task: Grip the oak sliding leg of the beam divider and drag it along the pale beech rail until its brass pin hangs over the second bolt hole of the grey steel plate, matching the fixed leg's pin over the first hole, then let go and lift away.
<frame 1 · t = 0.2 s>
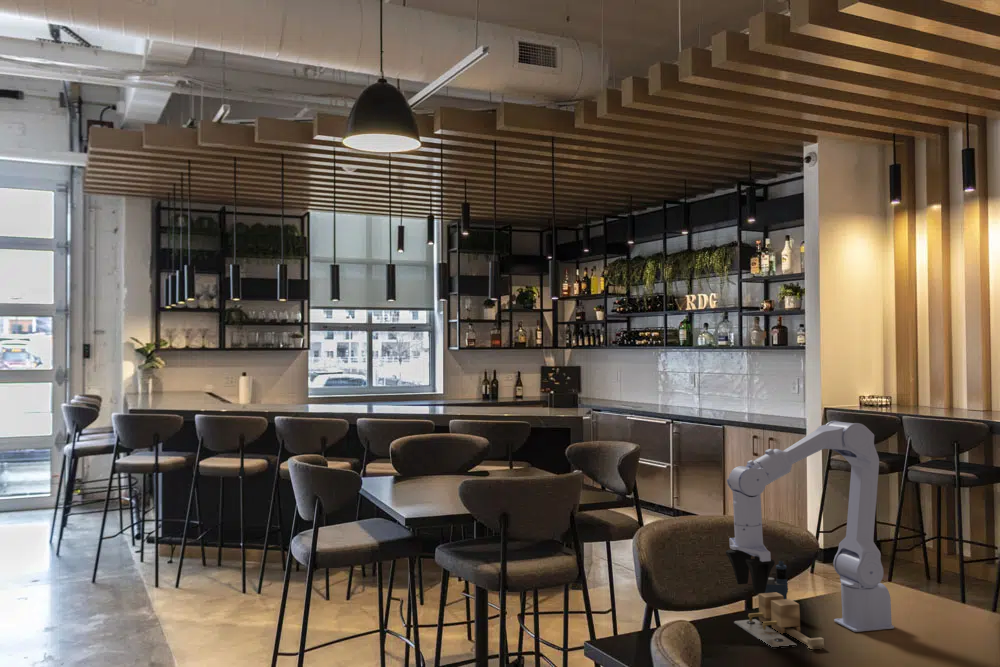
hand: (750, 588, 175), 10 cm above the table, tool pointing down, fingers open, 7 cm apart
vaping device: (777, 615, 189), on the table
fixed leg: (771, 622, 183), on the table
rail: (788, 632, 176), on the table
bolt plate: (763, 633, 176), on the table
slider leg: (778, 616, 177), point 3 cm above the table, slide at 0.0 cm
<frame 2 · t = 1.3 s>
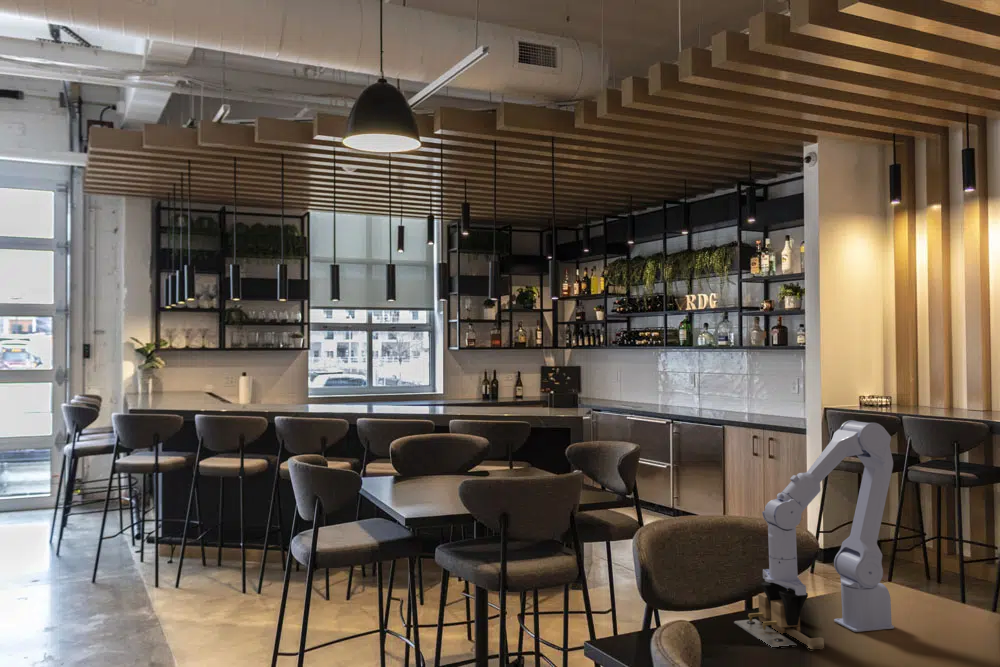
hand: (784, 620, 177), 2 cm above the table, tool pointing down, fingers open, 5 cm apart
nothing on the table moved.
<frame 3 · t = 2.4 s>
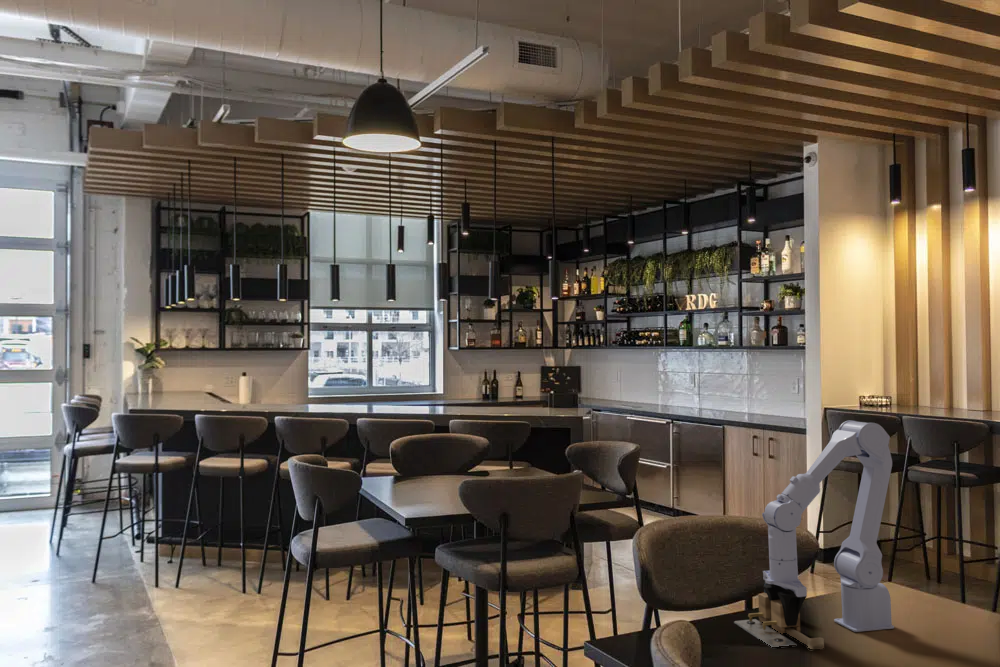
hand: (785, 622, 177), 2 cm above the table, tool pointing down, fingers closed on slider leg, 4 cm apart
slider leg: (778, 616, 177), point 3 cm above the table, slide at 0.0 cm, touching gripper
everything else where it was.
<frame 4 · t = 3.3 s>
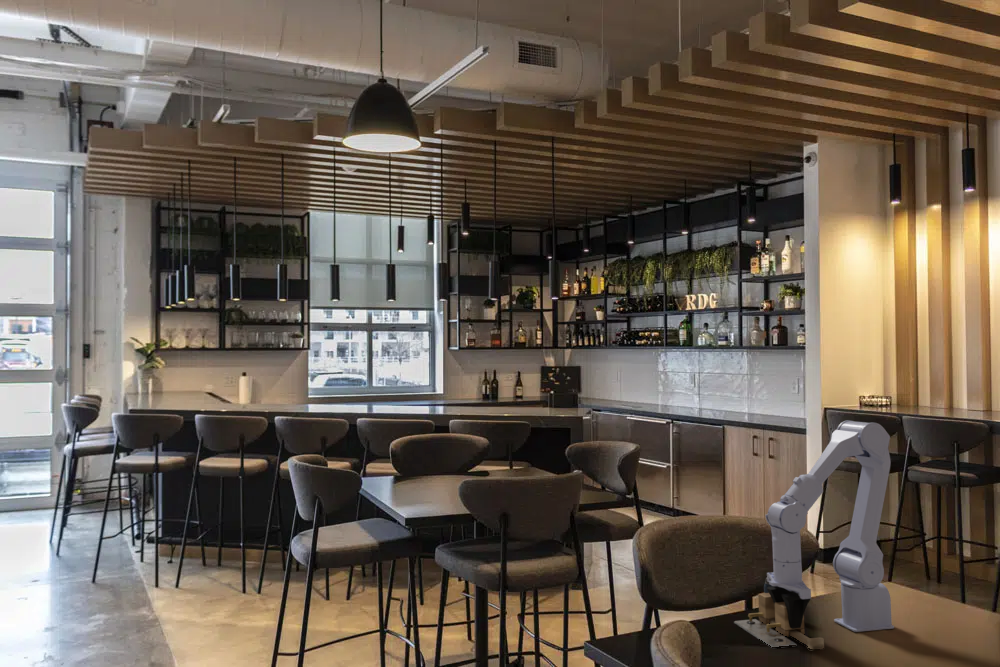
hand: (789, 624, 176), 2 cm above the table, tool pointing down, fingers closed on slider leg, 4 cm apart
slider leg: (782, 619, 175), point 3 cm above the table, slide at 1.7 cm, touching gripper
everything else where it was.
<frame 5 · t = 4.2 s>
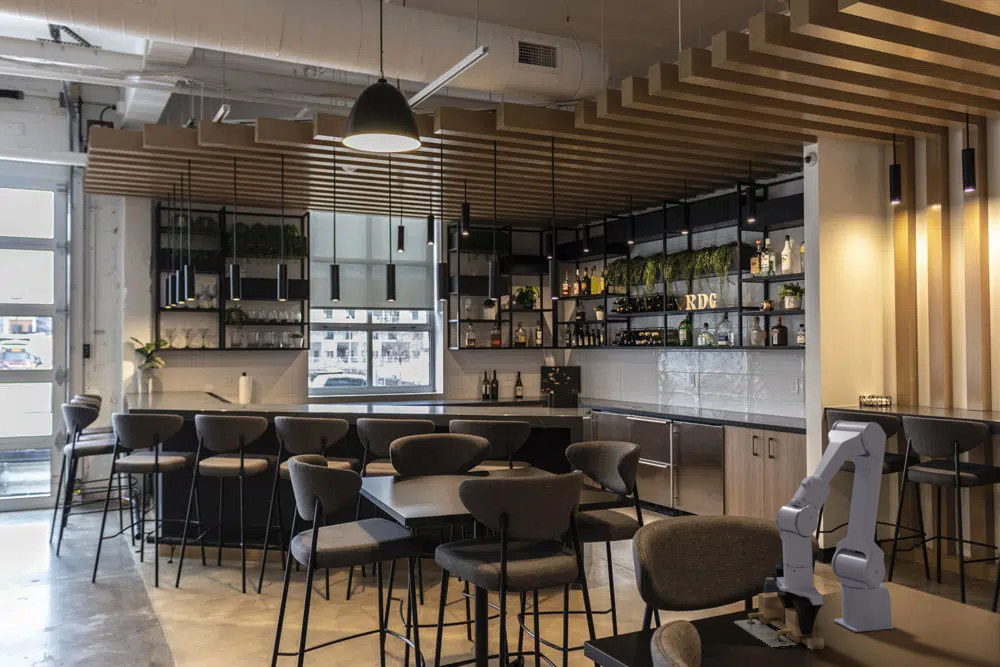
hand: (800, 630, 171), 2 cm above the table, tool pointing down, fingers closed on slider leg, 4 cm apart
slider leg: (793, 625, 171), point 3 cm above the table, slide at 5.9 cm, touching gripper
everything else where it was.
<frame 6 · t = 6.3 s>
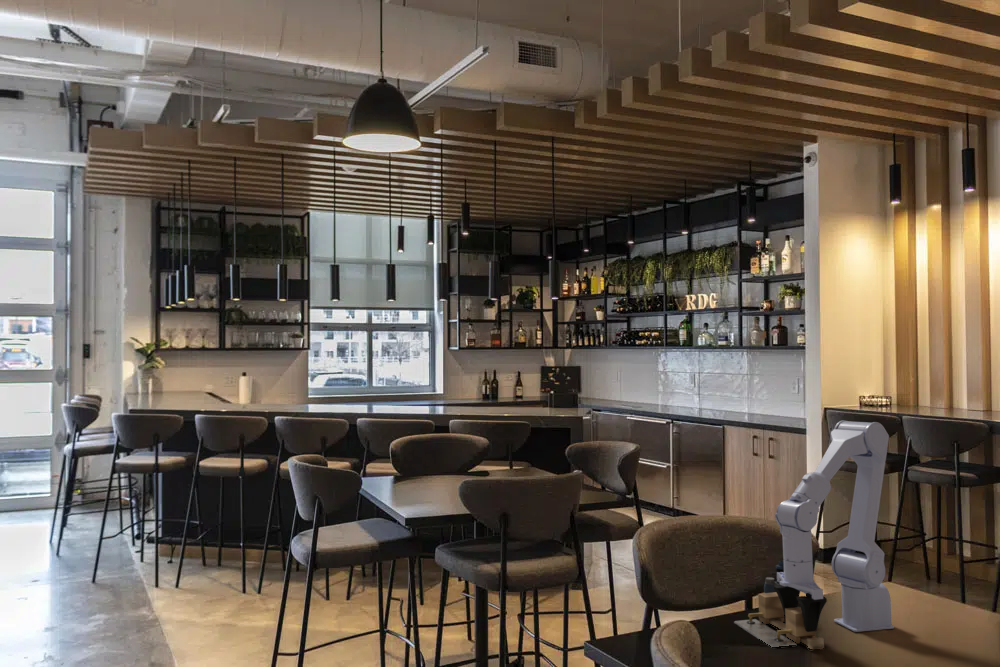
hand: (800, 625, 171), 3 cm above the table, tool pointing down, fingers open, 7 cm apart
slider leg: (793, 625, 171), point 3 cm above the table, slide at 6.0 cm
everything else where it was.
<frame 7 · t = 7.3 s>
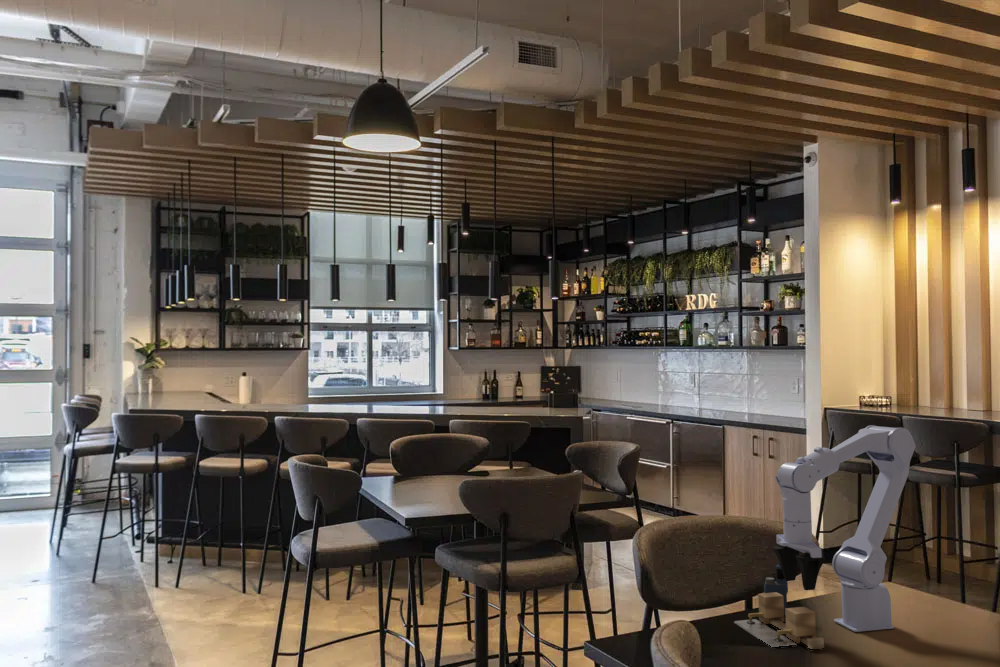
hand: (799, 584, 175), 10 cm above the table, tool pointing down, fingers open, 7 cm apart
nothing on the table moved.
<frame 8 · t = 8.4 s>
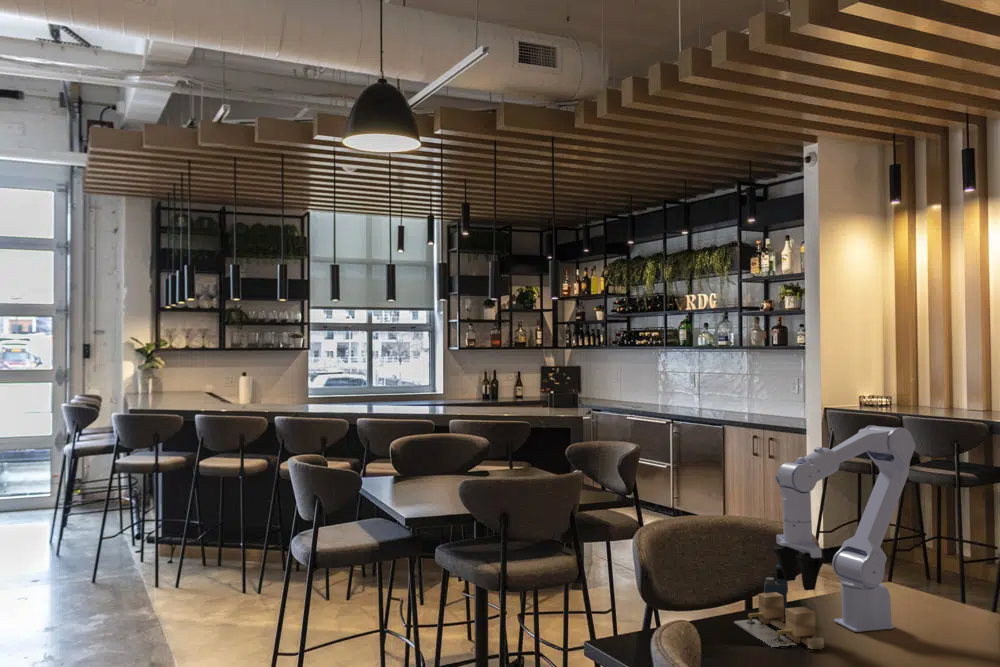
hand: (799, 584, 175), 10 cm above the table, tool pointing down, fingers open, 7 cm apart
nothing on the table moved.
at the end: slider leg slide at 6.0 cm; the gripper is holding nothing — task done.
